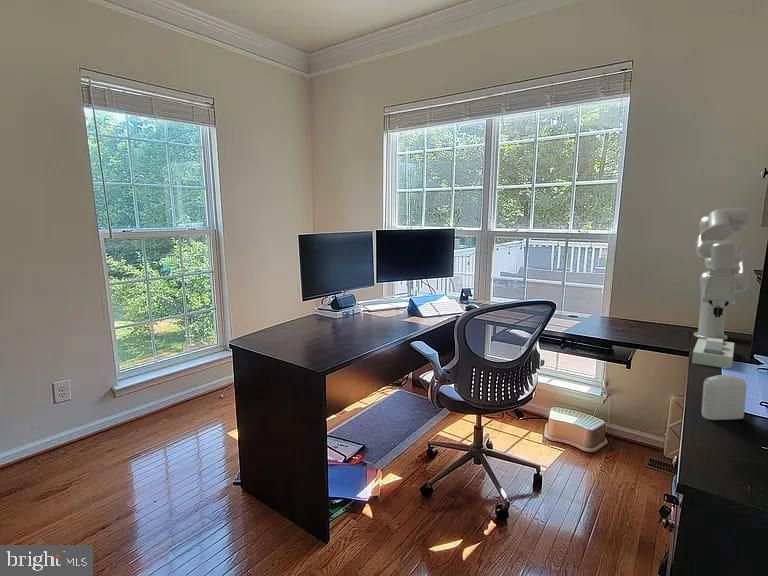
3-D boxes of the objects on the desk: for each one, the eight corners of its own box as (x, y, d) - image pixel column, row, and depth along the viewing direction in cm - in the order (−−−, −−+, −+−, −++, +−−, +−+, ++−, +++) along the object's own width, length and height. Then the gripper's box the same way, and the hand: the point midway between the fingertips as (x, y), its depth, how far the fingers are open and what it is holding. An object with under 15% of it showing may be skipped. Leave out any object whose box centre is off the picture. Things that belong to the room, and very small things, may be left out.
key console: (697, 348, 182) (698, 338, 182) (733, 353, 175) (734, 342, 174) (692, 363, 164) (692, 351, 164) (731, 369, 157) (732, 357, 156)
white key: (706, 346, 172) (707, 337, 172) (722, 348, 169) (723, 339, 169) (705, 349, 169) (706, 340, 168) (721, 351, 165) (722, 342, 165)
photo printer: (709, 421, 117) (712, 378, 115) (698, 414, 121) (701, 373, 119) (746, 420, 117) (750, 377, 115) (734, 413, 121) (737, 372, 119)
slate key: (704, 355, 167) (705, 345, 166) (721, 357, 163) (721, 347, 163) (703, 358, 163) (704, 348, 162) (720, 360, 160) (721, 350, 159)
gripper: (745, 272, 169) (741, 317, 172) (699, 270, 178) (696, 312, 181) (745, 275, 163) (741, 320, 166) (697, 273, 173) (694, 316, 176)
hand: (717, 316), depth 174 cm, fingers closed
